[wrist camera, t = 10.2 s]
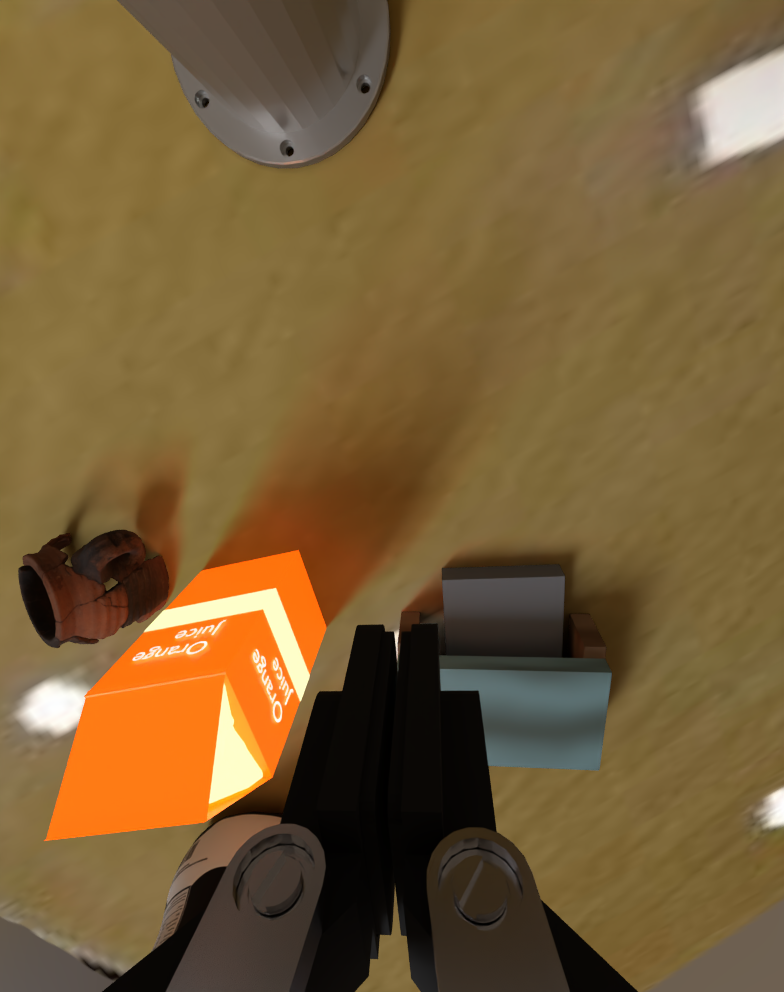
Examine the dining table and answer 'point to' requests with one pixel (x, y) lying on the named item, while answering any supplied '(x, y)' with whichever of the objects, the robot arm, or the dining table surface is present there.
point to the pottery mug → (91, 587)
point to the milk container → (208, 867)
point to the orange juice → (194, 703)
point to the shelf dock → (537, 700)
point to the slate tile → (504, 611)
